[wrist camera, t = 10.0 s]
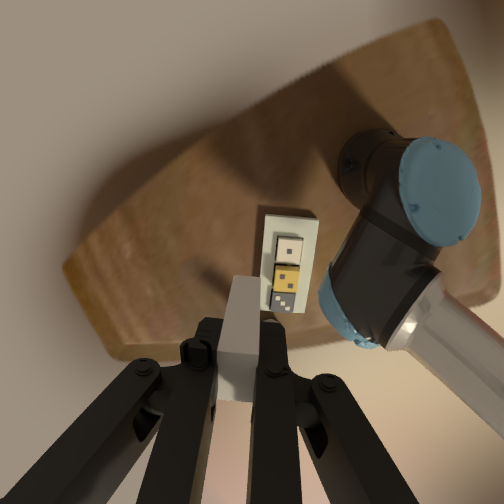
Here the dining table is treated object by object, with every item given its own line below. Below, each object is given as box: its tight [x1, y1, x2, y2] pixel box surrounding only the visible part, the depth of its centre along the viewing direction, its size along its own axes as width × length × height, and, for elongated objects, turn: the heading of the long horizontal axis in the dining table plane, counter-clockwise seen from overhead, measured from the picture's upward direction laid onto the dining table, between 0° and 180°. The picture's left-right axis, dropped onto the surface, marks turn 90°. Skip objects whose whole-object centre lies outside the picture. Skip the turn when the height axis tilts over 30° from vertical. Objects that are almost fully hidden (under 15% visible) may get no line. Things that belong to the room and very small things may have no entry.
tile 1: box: [276, 236, 303, 263], centre depth 50 cm, size 4×4×2 cm
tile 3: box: [270, 289, 295, 313], centre depth 53 cm, size 4×4×2 cm
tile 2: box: [273, 265, 300, 293], centre depth 51 cm, size 4×4×2 cm
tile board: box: [260, 214, 319, 313], centre depth 52 cm, size 18×9×2 cm, turn 176°
